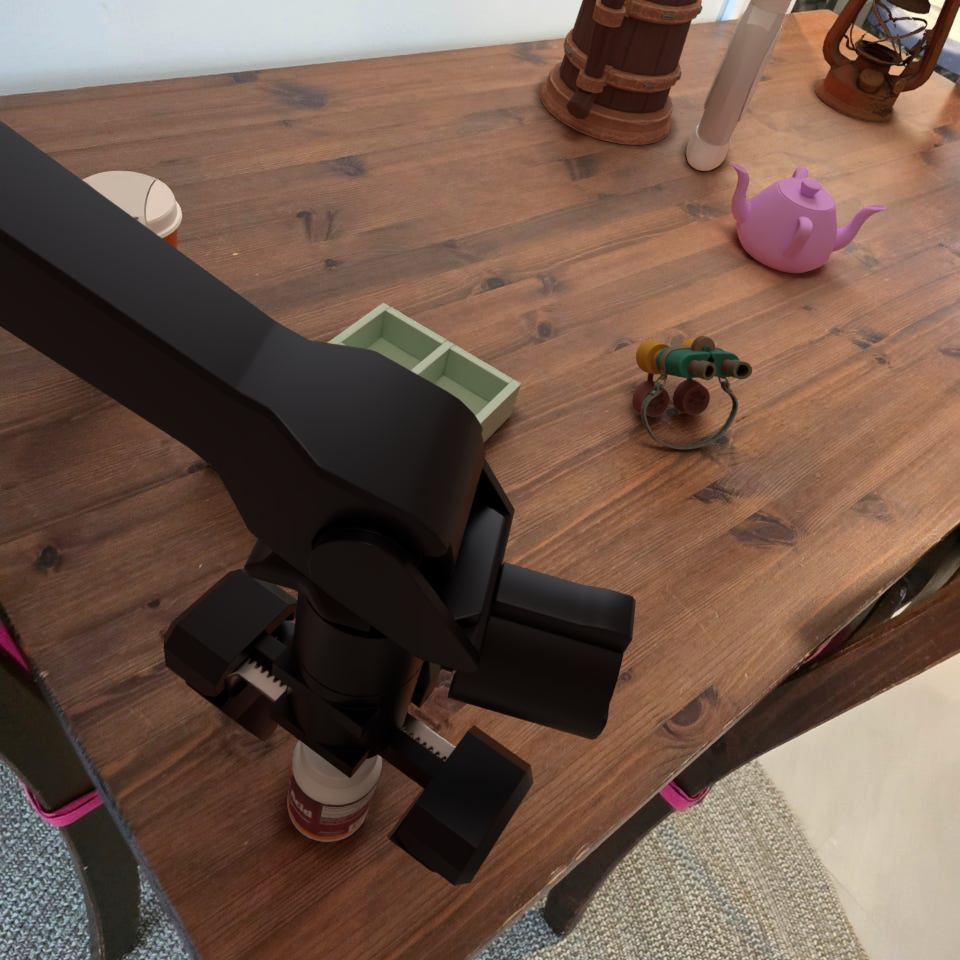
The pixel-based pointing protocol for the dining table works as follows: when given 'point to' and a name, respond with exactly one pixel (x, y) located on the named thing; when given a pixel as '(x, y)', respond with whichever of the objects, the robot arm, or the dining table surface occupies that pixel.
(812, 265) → the teapot
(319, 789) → the pill bottle
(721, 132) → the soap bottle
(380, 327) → the divided tray
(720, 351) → the binoculars
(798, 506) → the dining table surface
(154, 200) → the paper cup
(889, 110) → the lantern
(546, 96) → the mug
